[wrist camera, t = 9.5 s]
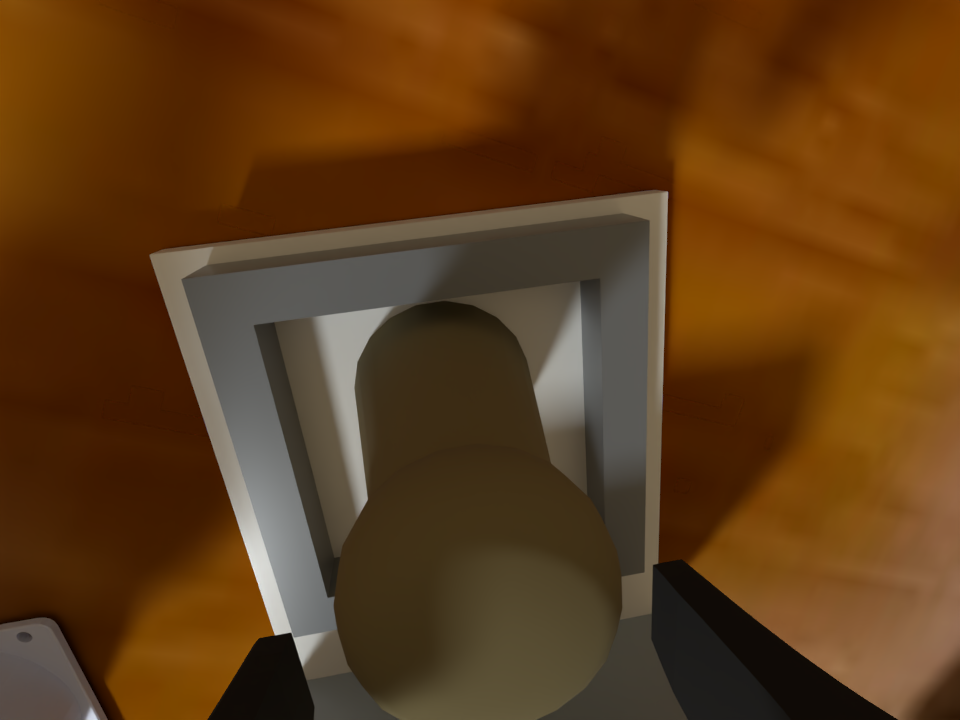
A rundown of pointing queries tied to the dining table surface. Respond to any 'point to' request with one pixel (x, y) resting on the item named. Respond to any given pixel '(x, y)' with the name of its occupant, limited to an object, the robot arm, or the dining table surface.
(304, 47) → the dining table surface
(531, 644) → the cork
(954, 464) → the dining table surface
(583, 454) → the socket block
